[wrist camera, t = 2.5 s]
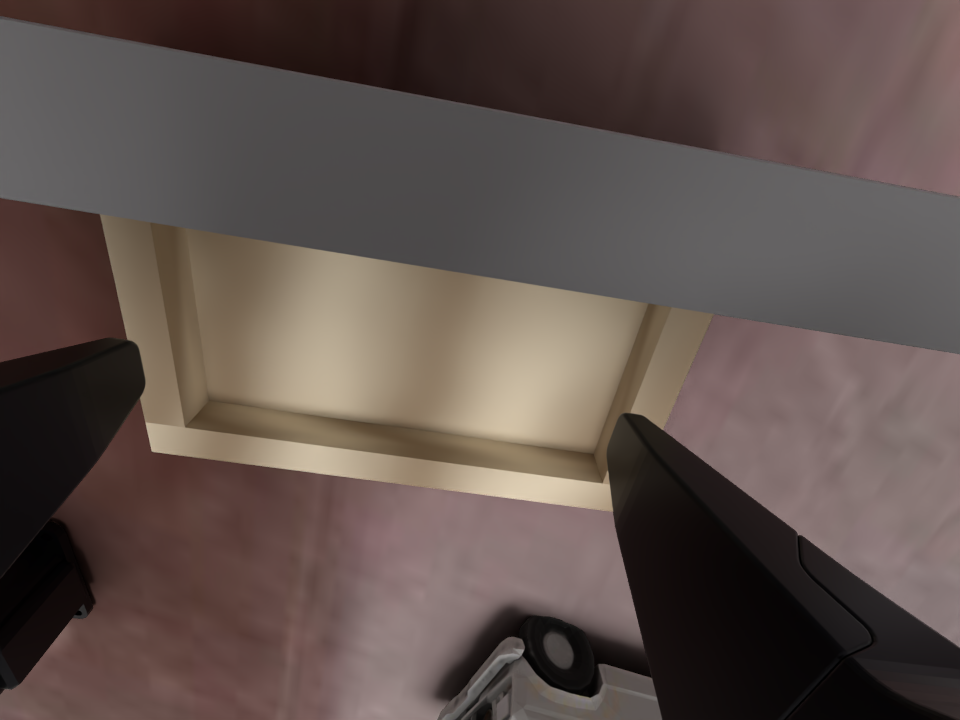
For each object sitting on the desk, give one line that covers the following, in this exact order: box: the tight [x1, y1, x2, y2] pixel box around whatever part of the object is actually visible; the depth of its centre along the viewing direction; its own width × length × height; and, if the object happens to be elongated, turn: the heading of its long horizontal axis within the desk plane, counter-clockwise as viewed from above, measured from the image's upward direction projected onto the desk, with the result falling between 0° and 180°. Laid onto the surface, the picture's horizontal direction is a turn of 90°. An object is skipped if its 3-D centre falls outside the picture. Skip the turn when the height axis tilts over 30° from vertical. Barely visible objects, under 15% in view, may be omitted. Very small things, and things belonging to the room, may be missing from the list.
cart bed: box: [100, 214, 714, 512], centre depth 15 cm, size 16×10×3 cm, turn 81°
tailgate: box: [0, 16, 960, 354], centre depth 8 cm, size 16×2×8 cm, turn 81°
